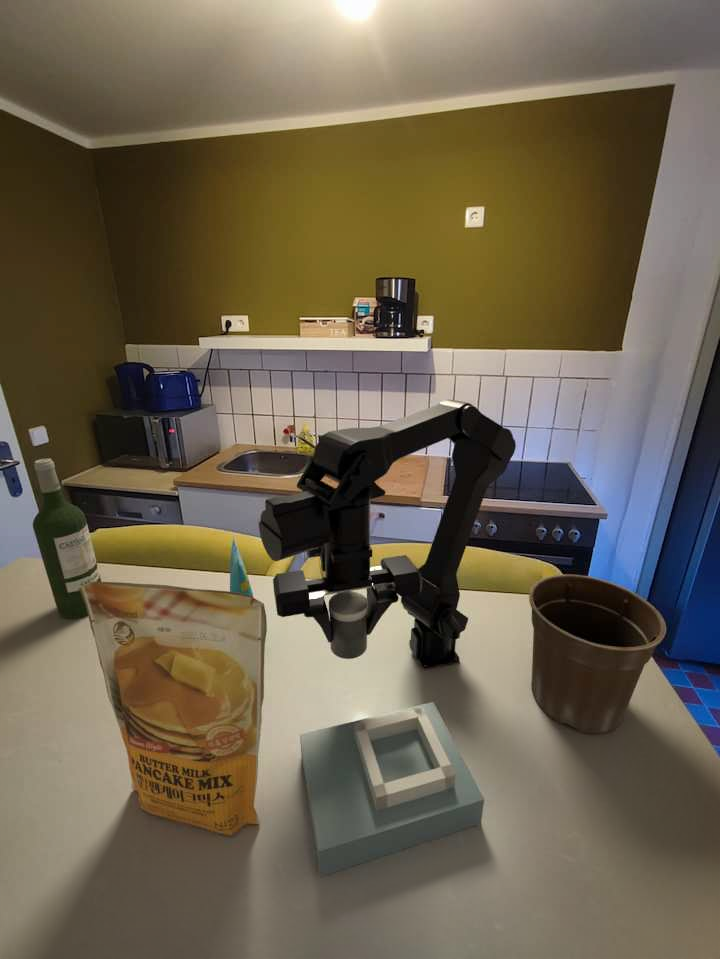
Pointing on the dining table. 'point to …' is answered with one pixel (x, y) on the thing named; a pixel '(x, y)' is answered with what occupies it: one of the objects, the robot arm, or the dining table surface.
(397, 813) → the teal base with frame
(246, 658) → the pancake mix bag
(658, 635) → the plant pot
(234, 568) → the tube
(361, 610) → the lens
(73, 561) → the wine bottle
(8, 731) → the dining table surface
